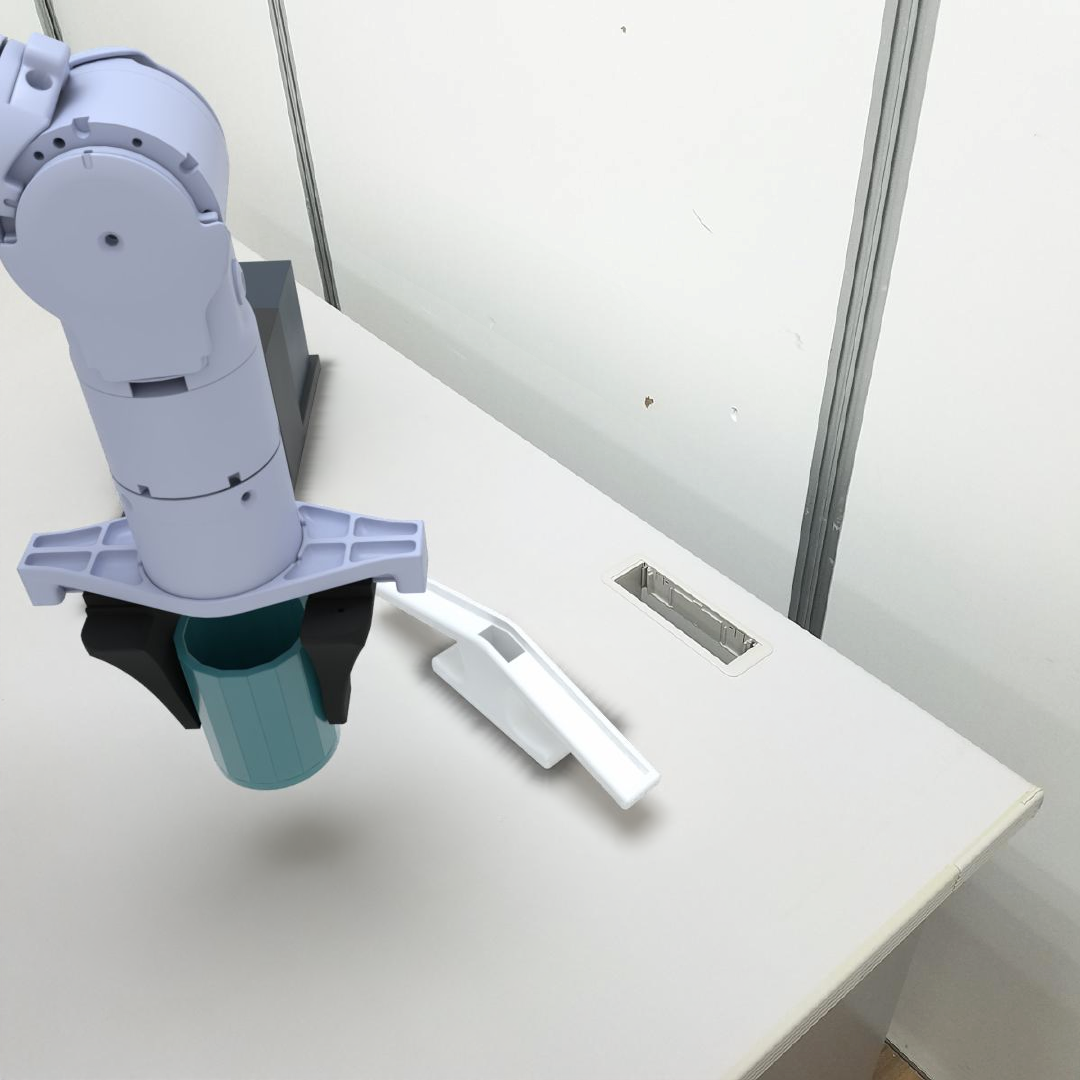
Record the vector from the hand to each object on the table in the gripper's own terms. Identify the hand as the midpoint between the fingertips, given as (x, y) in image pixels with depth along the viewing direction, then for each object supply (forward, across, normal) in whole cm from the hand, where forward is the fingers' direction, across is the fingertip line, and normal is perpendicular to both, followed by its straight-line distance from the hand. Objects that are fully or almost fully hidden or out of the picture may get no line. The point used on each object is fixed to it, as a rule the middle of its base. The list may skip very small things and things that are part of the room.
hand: (269, 708), depth 48 cm
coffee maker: (+9, +9, -28) cm, 30 cm away
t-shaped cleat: (+9, -10, -8) cm, 16 cm away
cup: (+2, 0, 0) cm, 2 cm away
